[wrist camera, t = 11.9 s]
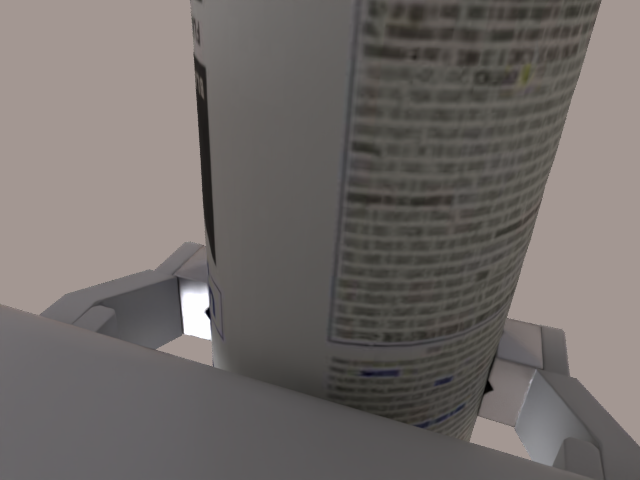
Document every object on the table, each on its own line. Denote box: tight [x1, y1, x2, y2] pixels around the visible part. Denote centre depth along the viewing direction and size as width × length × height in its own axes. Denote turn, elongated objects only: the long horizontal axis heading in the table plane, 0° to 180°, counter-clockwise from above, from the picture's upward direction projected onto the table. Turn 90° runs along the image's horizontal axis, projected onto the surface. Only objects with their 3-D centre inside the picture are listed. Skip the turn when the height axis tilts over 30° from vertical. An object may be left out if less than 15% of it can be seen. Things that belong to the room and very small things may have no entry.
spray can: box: [190, 0, 601, 442], centre depth 12 cm, size 7×7×20 cm
